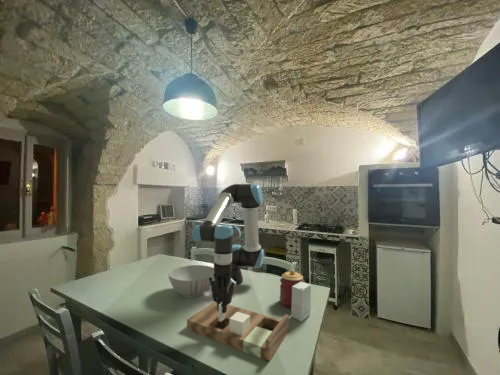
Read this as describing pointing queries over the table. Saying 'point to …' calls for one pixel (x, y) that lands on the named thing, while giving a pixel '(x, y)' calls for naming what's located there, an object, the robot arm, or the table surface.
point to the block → (239, 323)
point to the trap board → (253, 341)
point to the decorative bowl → (191, 280)
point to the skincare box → (301, 301)
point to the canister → (288, 287)
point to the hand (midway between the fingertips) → (221, 319)
